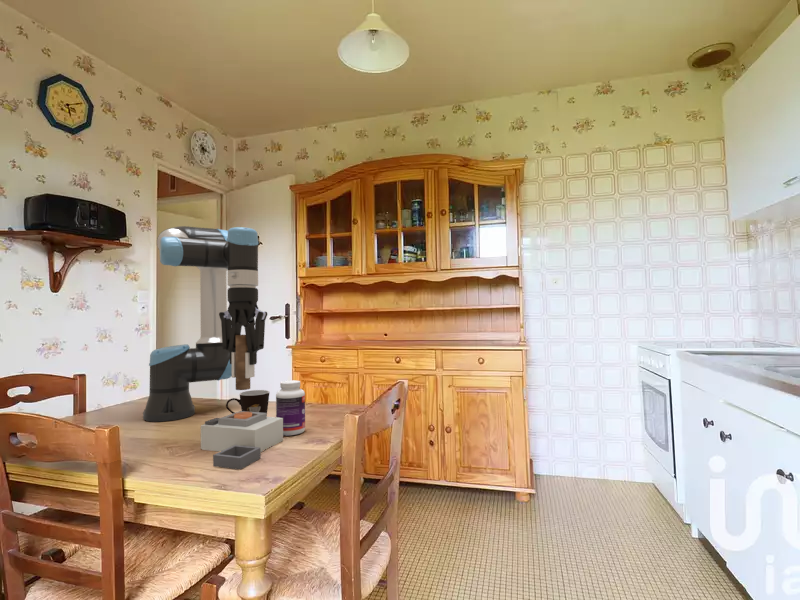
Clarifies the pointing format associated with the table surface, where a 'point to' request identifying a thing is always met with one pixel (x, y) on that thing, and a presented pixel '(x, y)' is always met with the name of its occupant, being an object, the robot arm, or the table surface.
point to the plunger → (243, 415)
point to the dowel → (241, 363)
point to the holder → (236, 457)
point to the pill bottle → (291, 407)
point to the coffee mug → (252, 401)
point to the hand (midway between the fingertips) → (243, 376)
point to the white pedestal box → (241, 432)
